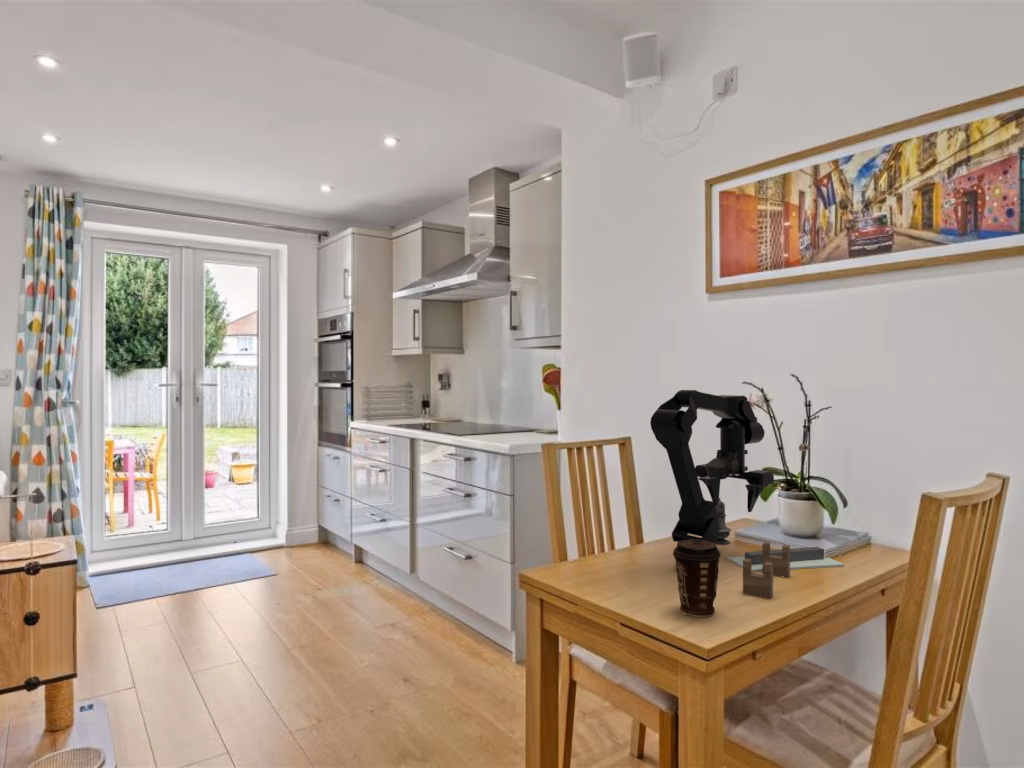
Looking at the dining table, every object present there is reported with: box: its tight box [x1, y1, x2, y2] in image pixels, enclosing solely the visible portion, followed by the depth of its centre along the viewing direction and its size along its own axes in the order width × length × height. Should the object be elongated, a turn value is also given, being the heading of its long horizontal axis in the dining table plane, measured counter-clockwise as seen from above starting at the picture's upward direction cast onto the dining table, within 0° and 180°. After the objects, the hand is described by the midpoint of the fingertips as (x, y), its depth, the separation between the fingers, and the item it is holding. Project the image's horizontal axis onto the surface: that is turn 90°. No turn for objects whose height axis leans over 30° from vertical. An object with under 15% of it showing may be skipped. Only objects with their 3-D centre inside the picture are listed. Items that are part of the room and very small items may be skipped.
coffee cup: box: [672, 539, 721, 618], centre depth 119 cm, size 9×8×13 cm
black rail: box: [744, 546, 825, 565], centre depth 150 cm, size 20×2×2 cm, turn 103°
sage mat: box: [727, 556, 845, 573], centre depth 150 cm, size 24×10×1 cm, turn 100°
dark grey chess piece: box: [716, 497, 732, 546], centre depth 169 cm, size 6×6×12 cm
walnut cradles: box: [742, 541, 791, 599], centre depth 135 cm, size 18×5×7 cm, turn 145°
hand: (732, 508), depth 155 cm, fingers open, 9 cm apart
